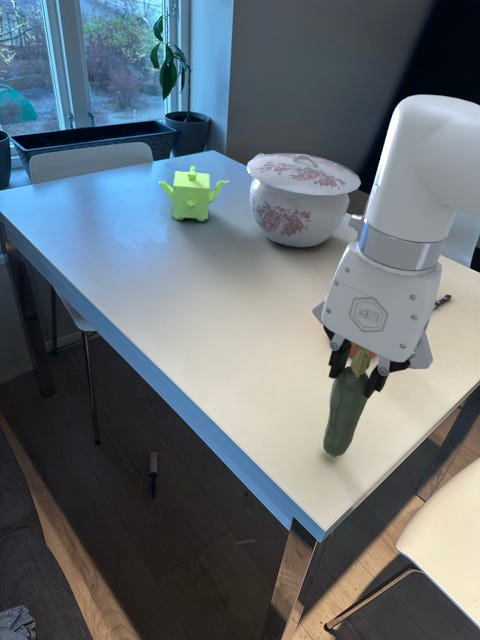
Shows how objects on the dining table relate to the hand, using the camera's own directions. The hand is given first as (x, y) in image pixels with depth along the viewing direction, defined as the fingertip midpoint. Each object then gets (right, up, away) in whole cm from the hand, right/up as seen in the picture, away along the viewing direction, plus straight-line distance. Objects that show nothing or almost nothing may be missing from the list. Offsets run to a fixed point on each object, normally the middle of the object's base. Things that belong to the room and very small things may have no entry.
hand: (353, 380), depth 53 cm
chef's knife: (+25, +9, +42) cm, 49 cm away
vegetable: (-1, -12, +9) cm, 15 cm away
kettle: (-26, +36, +68) cm, 81 cm away
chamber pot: (0, +29, +64) cm, 71 cm away
